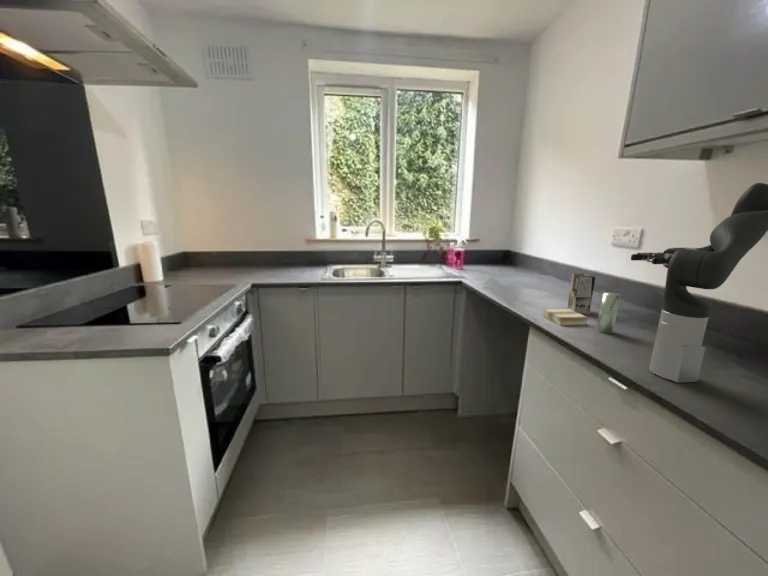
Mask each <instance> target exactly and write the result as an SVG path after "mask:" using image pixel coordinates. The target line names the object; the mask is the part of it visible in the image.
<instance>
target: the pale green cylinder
mask: <svg viewBox="0 0 768 576" xmlns="http://www.w3.org/2000/svg"><path fill="white" fill-rule="evenodd" d="M620 298H621V294H620V293H616V292H608V291H605V292H602V294H601V301H600V306H599V313H598V318H597V324H596V329H595V330H596V332H597V333H601V334H605V335H607V334H608V335H613V333H614V331H615V330H614V329H615V325H616V319H617V314H618V309H619V303H620Z"/></svg>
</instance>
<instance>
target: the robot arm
mask: <svg viewBox="0 0 768 576" xmlns="http://www.w3.org/2000/svg"><path fill="white" fill-rule="evenodd" d="M767 232H768V184H767V183H763V182H756V183H754V184H752V185H751V186H749V187H748V188H747V189H746V190H745V191H744V192H743V194H741V195H740V197H739V199H738V200H737V202H736V203H735V204H734V207H733V209H732V211H731V213H730V215H729V216H728V217H726V218H725V219H722V221H720V222H719V224H717V226H716V227H715V228H713V230H712V231H711V233H710V235H709V243H710V244H709V245H706V246H702V247H669V248H666V249H665V250H664V251H663V252H661V251H660V252H637V253H634V254H631V256H630V260H631V261H640V262H643V261H646V262H647V263H651V264H652V265H663V267H664V268H666V269H667V271H666V277H665V279H666V280H665V285H664V292H663V296H662V297H663V298H662V307H661V310H660V311H661V313H660V315H659V316H660V317H659V321H658V325H657V330H656V333H655V339H654V344H653V349H652V353H651V359H650V363H649V368H648V370H649V371H650V372H651V373H652V374H654V375H655V374H656V376H657V375H658V377H661V378H662V379H666V380H670V381H673V382H675V383H677V384H678V383H696V382H698V380H699V375H700V372H701V368H702V364H703V359H704V356H705V352H706V347H705V346H703V341H704V337H705V332H706V328H707V325H708V321H709V317H710V313H711V306H710V305H709V303H707V302H705V301H704V300H701V299H700V298H697V297H696V296H694V295H692V294H691V293H690V292H689V290H688V288H687V287H690V288H695V289H702V290H716V289H718V288H720V287H722V285H723V284H724V283H725V282H726V281H727V279H728V278H729V277H730V275H731V273H732V272H733V271H734V270H735V268H736V267H737V265H738V264H739V263H740V262H741V260H742V259H743V258H744V257H745V256H746V255H747V253H748V252H749V251H750V250H752V248H754V247H755V245H757V244H758V243H759V242H760V241H761V240H762V238H763V237H764V236H765V235H766V233H767Z"/></svg>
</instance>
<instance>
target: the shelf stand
mask: <svg viewBox="0 0 768 576" xmlns="http://www.w3.org/2000/svg"><path fill="white" fill-rule="evenodd" d="M543 316H544V317H543ZM542 317H543V318H545V317H546V318H545V319H547V318H548V319H547V320H549V319H550V320H549V321H551V322H553V323H555V324H557V325H559V326H577V325H579V326H582V325H583V326H586V325H587V323H588V318H589V317H588V316H586V315H585V314H579V313H577V312H575V311H572V310H570V309H568V308H551V309H550V308H548V309H547V308H544V309H543V314H542Z"/></svg>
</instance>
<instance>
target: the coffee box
mask: <svg viewBox="0 0 768 576" xmlns="http://www.w3.org/2000/svg"><path fill="white" fill-rule="evenodd" d="M595 283H596V276H594V275H591V274H588V273H584V272H583V273H580V272H579V273H573V272H572V275H571V282H570V290H569V296H568V303H567V309H568V308H569V309H570V310H572V311H575V312H577V313H579V314H581V315H590V313H591V305H592V300H593V294H594V288H595Z"/></svg>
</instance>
